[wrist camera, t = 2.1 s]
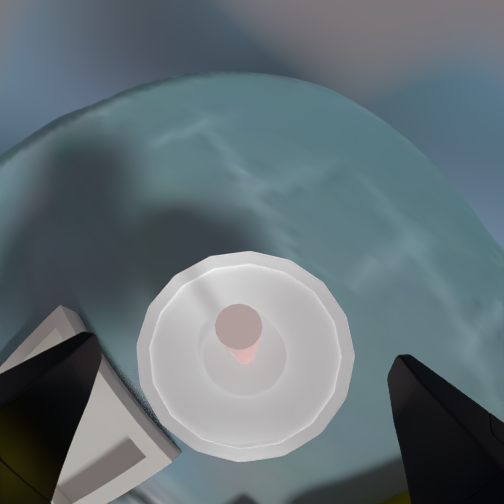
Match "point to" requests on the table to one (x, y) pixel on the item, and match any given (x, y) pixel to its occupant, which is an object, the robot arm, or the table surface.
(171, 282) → the beverage cup
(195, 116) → the table surface
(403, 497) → the element tile
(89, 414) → the tray
